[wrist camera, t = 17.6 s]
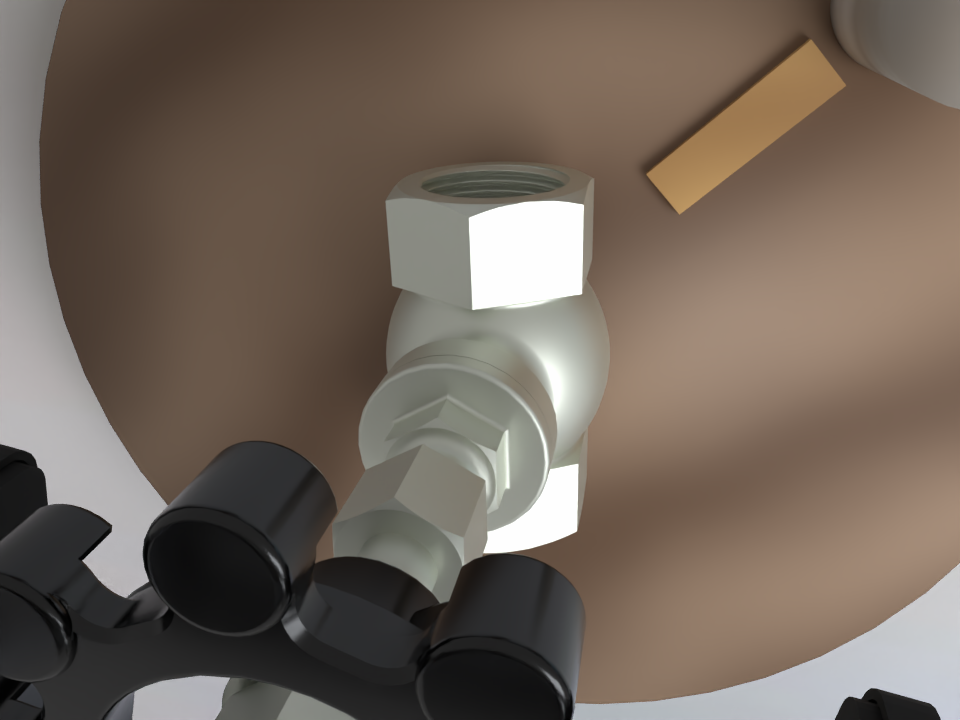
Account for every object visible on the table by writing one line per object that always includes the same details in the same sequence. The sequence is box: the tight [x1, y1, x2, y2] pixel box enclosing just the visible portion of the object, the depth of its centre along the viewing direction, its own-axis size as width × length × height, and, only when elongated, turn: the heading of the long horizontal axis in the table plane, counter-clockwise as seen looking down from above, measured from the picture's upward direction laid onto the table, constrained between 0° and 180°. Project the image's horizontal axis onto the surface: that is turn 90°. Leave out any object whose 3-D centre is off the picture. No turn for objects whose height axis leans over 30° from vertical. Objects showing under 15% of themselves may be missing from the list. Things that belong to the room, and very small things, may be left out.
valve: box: [0, 162, 610, 720], centre depth 12 cm, size 7×7×12 cm
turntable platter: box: [39, 0, 960, 704], centre depth 16 cm, size 22×22×6 cm
